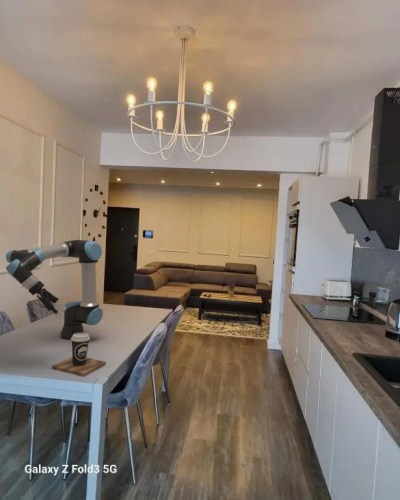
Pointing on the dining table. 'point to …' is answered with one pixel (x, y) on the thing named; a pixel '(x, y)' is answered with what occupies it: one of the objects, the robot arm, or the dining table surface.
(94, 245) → the robot arm
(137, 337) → the dining table surface
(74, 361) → the coffee cup
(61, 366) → the wooden board
